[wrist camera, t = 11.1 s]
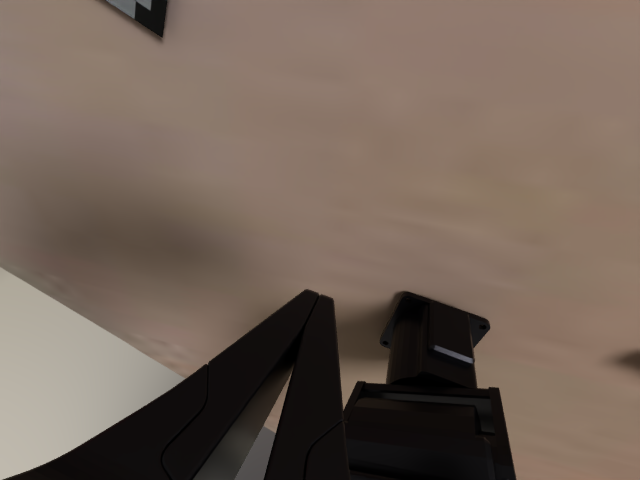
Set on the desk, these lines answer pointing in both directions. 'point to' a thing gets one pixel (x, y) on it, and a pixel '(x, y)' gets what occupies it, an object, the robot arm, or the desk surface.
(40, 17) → the desk surface
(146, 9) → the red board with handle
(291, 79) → the desk surface
